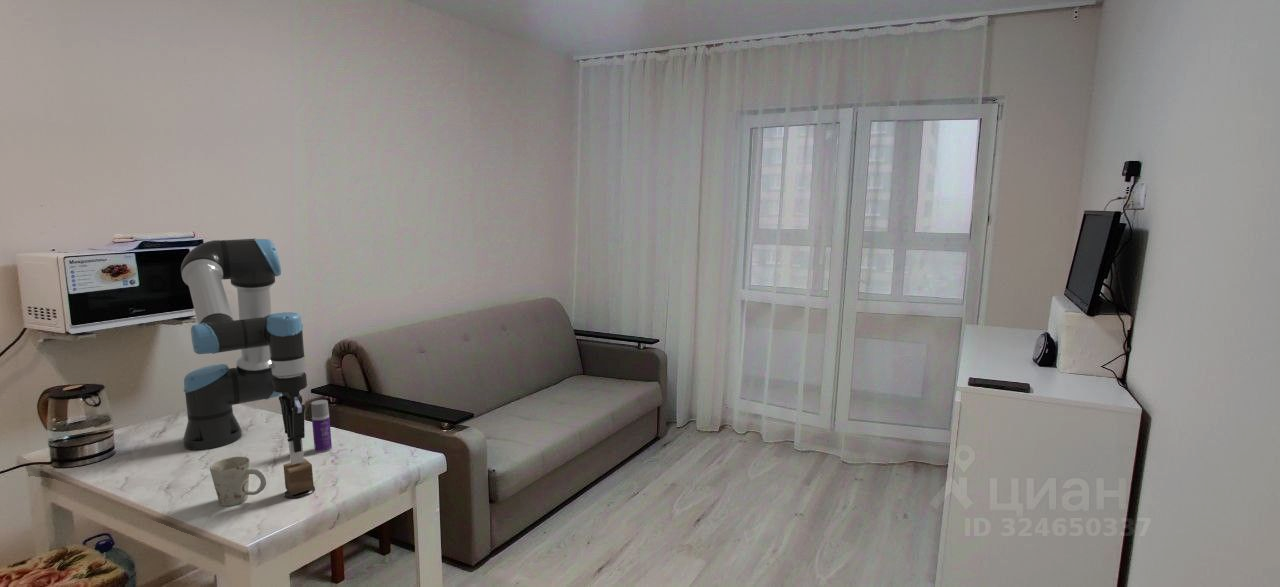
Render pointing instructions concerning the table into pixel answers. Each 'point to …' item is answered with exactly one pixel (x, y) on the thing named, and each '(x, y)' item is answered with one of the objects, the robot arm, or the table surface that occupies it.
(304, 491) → the post
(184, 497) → the table surface
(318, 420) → the container
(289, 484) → the brown shipping carton
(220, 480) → the mug
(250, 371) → the robot arm
